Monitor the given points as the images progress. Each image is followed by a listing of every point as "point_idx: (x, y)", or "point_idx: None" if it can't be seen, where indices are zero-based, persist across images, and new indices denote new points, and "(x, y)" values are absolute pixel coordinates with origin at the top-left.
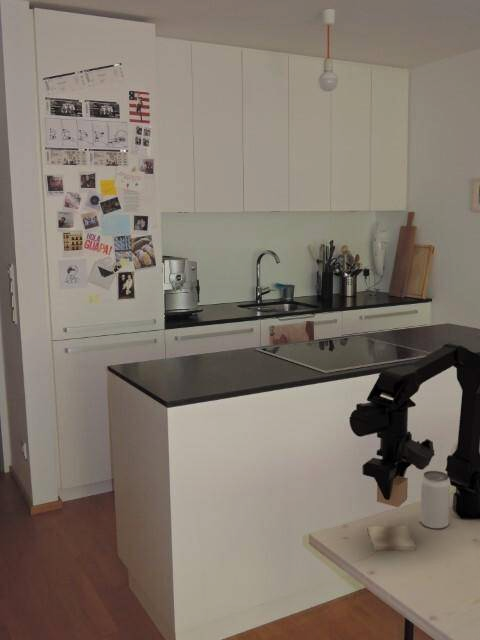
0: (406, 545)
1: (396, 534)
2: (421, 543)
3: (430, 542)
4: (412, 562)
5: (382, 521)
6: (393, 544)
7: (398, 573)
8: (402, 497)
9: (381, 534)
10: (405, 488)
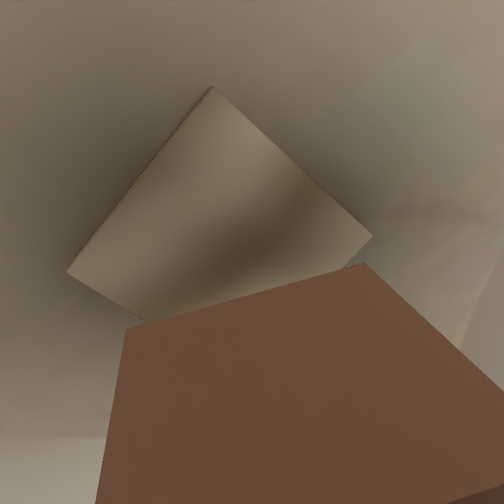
0: (251, 129)
1: (190, 244)
2: (116, 112)
3: (57, 81)
4: (335, 17)
5: (100, 386)
6: (294, 185)
7: (475, 4)
8: (276, 329)
9: (251, 290)
10: (190, 423)
